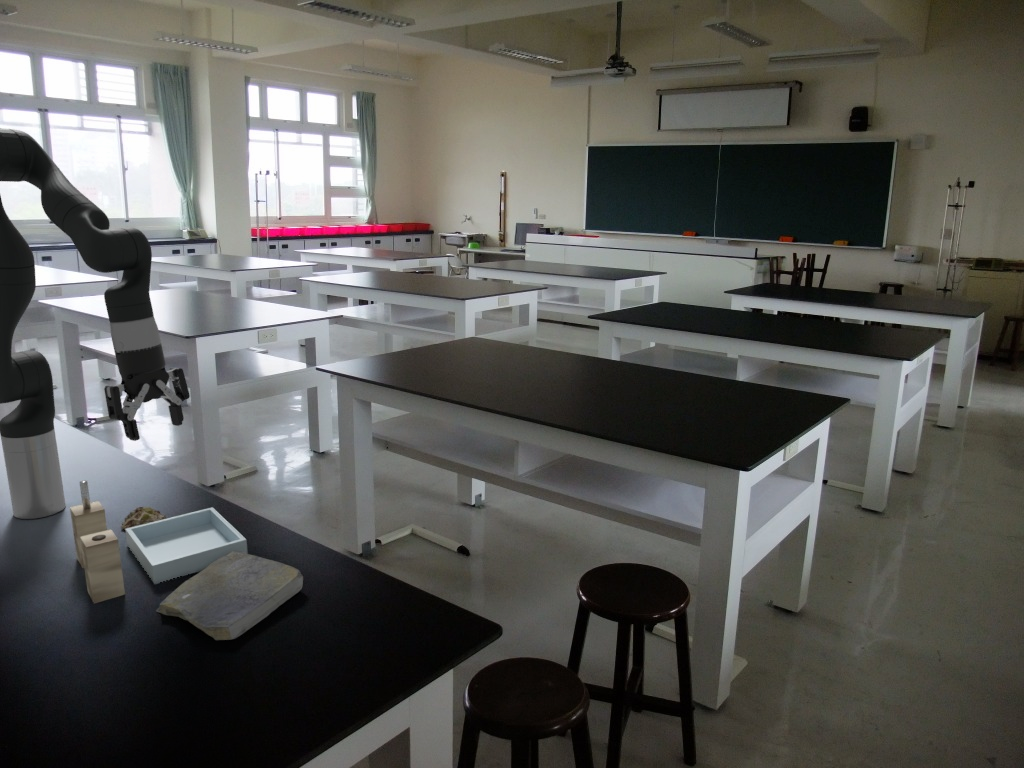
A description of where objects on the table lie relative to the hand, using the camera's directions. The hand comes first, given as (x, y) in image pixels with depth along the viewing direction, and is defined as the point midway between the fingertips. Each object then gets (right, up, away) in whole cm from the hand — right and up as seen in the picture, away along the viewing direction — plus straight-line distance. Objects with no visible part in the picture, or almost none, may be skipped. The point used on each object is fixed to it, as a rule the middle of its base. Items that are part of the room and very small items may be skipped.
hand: (156, 432), depth 136 cm
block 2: (-3, -26, -11) cm, 28 cm away
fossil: (+18, -27, -13) cm, 35 cm away
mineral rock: (-9, -20, +14) cm, 26 cm away
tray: (+4, -22, +3) cm, 23 cm away
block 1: (-11, -23, 0) cm, 26 cm away
